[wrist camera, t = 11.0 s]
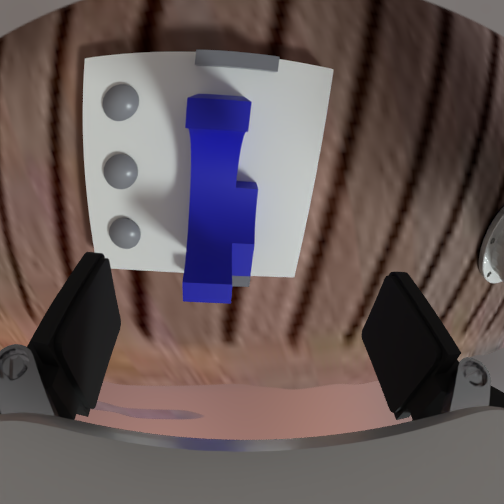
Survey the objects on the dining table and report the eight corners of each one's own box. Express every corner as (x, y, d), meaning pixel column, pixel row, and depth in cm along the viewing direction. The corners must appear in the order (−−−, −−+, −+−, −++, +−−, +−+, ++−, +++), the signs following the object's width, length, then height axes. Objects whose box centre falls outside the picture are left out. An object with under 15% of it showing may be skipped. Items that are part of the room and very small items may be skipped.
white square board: (324, 69, 19) (341, 68, 16) (289, 264, 28) (297, 288, 25) (95, 59, 17) (75, 57, 14) (104, 254, 26) (92, 277, 23)
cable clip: (247, 254, 24) (254, 304, 19) (190, 251, 24) (183, 301, 19) (266, 98, 18) (283, 105, 13) (197, 93, 18) (187, 97, 13)
